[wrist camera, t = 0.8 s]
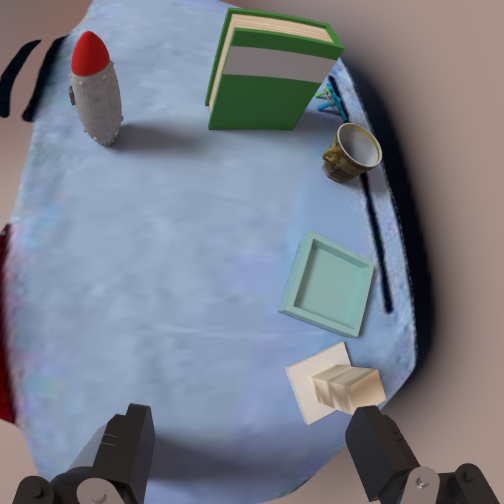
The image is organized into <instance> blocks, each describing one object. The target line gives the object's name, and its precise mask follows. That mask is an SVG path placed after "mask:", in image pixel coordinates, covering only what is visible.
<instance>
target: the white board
mask: <svg viewBox="0 0 504 504" xmlns="http://www.w3.org/2000/svg"><path fill="white" fill-rule="evenodd" d="M333 365H342V366H350V367H351V364H350V360H349V357H348V354H347V351H346V348H345V345H344V342H338V343H336V344H334V345H332V346H330V347H328V348H326V349H323V350H321V351H319V352H317V353H315V354H313V355H311V356H309V357H306V358H304V359H302V360H300V361H298V362H295V363H293V364H291V365H289V366H286V367H285V370H286V372H287V375H288V378H289V381H290V383H291V386H292V389H293V392H294V394H295V397H296V400H297V403H298V405H299V408H300V411H301V414H302V416H303V419H304V422H305V423H306V424H308V425H309V424H311V423H313V422H315V421H317V420H319V419H321V418H323V417H325V416H326V415H328V414H330V413H332V412H334V411H335V410H337V409H334V408H332V407H329V406H326V405H324V404H321V403H319V402H318V399H317V396H316V393H315V390H314V387H313V385H312V382H311V379H310V377H311V376H313V375H315V374H317V373H319V372H321V371H323V370H325V369H327V368H329V367H331V366H333Z"/></svg>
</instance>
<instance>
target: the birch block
mask: <svg viewBox="0 0 504 504" xmlns="http://www.w3.org/2000/svg"><path fill="white" fill-rule="evenodd" d="M310 379H311V382H312V385H313V387H314V390H315V393H316V396H317V399H318V402H319V403H321V404H324V405H326V406H329V407H332V408H334V409H337V410H340V411H342V412H345V413H348V414H351V415H353V414H354V412H355V410H356V408H357V407H363V406H370V405H376V406H377V405H379V404H380V403H382V402H383V401H385V400H386V397H385V393H384V390H383V386H382V382H381V379H380V375H379V372H378V369H369V368H359V367H350V366H342V365H333V366H331V367H329V368H327V369H325V370H323V371H321V372H319V373H317V374H315V375H313V376H311V377H310Z"/></svg>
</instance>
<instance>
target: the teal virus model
mask: <svg viewBox="0 0 504 504" xmlns="http://www.w3.org/2000/svg"><path fill="white" fill-rule="evenodd" d="M325 87H326V89H327V90H326V89H323V92H321V93H318V94H316V95H315V96H316V97H319V96H321V95H324V94H325V95H326V97H327V99H328V102H327V103H325V104H323V105H320V106H318V107H317V108H318V110H322V109H324V108H327V107H329V106H331V107H332V106H335V105H336V106H337V108H338V109H339V111H340V114H341V116H342V117H343V120H344V121H345V120H347V118H346V116H345V113H344V111H343V109H342V107H341V105H340V104H341V103H340V102H341V99H340V98H338V97H336V95H335V93H334V91H333V89H332V87H331V85H330V83H329V82H328V83H326V85H325ZM328 93H329V95H330V97H333V98H332V99H331V100H330V99H329V97H328Z"/></svg>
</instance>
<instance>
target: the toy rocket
mask: <svg viewBox="0 0 504 504" xmlns="http://www.w3.org/2000/svg"><path fill="white" fill-rule="evenodd" d="M113 65H114V63H113V62H112V61H110V58H109V53H108V51H107V48H106V46H105V45H104V43H103V41H102V40H101V39H100V38H99V37H98V36H97V35H96V34H94V33H93V32H91V31H87V32H85V33H83V34H82V36H81V37H80V39H79V40H78V42H77V44H76V47H75V49H74V52H73V56H72V63H71V67H72V73H71V74H70V78H72V86H70V87H68V88H69V95H70V99H71V103H72V105H75V106H76V109H77V112H78V115H79V118H80V120H81V122H82V124H83V126H84V132H87V133H88V134H89V136H90V137H91V138H92V139H93V140H94V141H96V142H98V144H99V145H102V146H107V145H110V144H112V143H113V142H114V141H115V139H116V136H117V135H118V133H119V131H120V126H121V121H123V119H124V117H123V116H122V112H121V98H120V91H119V85H118V81H117V77H116V74H115V70H114V68H113Z"/></svg>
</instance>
